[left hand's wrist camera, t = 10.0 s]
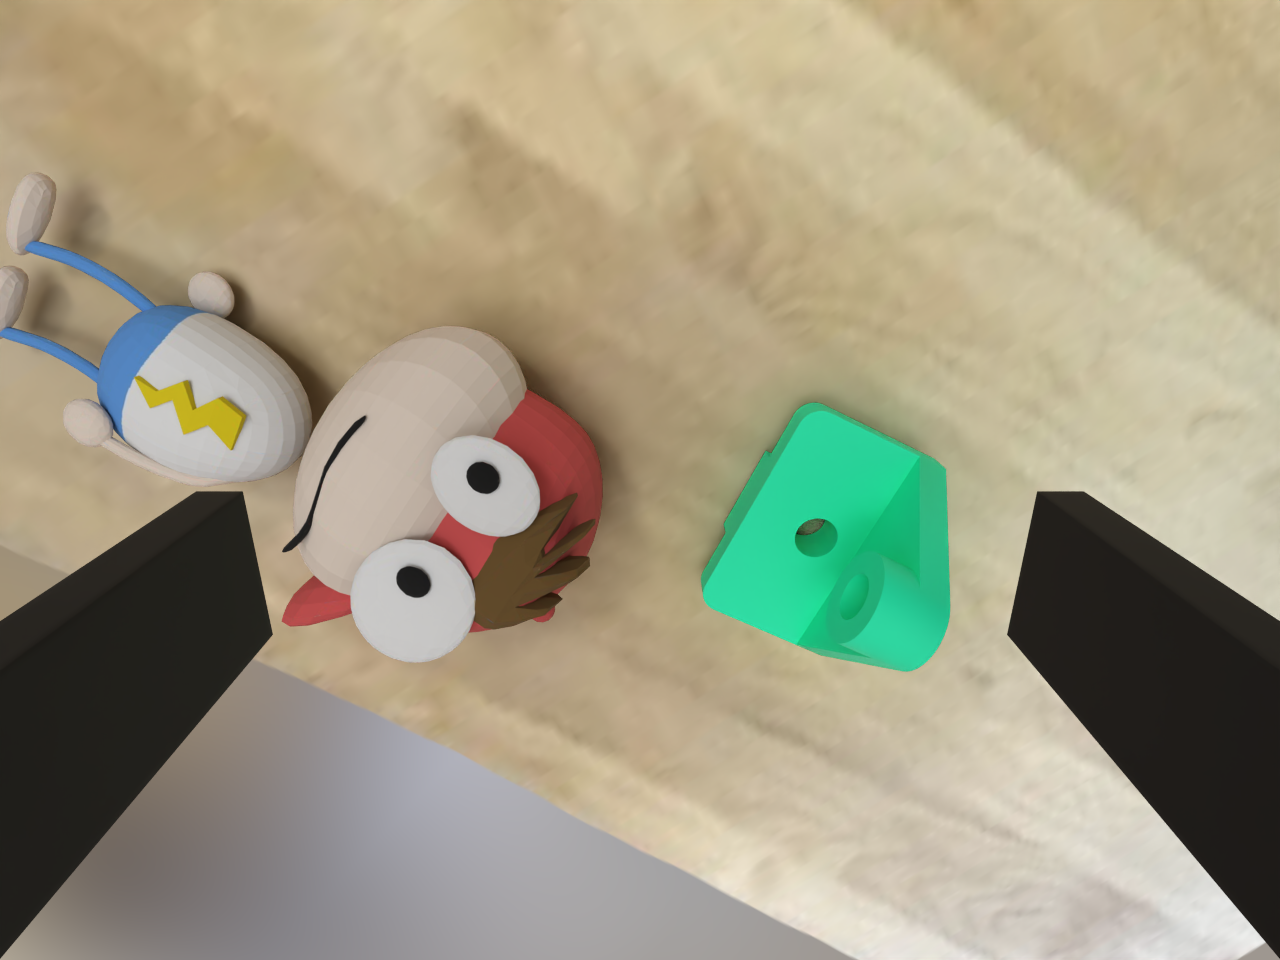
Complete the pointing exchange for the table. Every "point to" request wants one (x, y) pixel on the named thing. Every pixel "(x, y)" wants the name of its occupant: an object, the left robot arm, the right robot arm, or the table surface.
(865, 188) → the table surface
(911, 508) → the camera mount
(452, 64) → the table surface
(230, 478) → the toy
